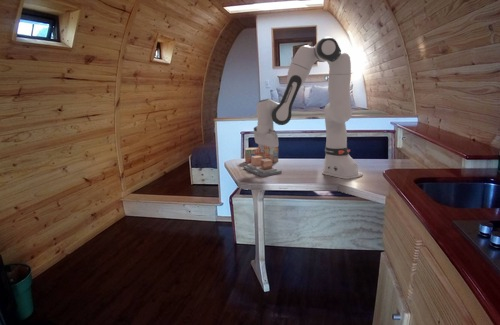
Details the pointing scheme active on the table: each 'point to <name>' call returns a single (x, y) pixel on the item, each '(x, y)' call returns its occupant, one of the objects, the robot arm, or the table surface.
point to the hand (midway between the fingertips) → (266, 153)
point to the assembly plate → (255, 167)
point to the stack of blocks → (261, 153)
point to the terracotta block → (265, 164)
